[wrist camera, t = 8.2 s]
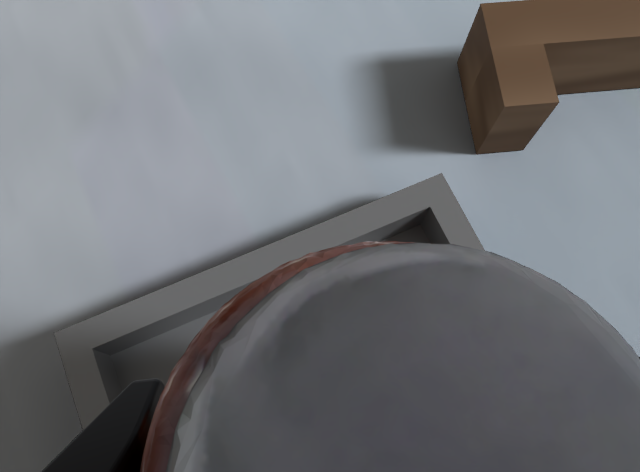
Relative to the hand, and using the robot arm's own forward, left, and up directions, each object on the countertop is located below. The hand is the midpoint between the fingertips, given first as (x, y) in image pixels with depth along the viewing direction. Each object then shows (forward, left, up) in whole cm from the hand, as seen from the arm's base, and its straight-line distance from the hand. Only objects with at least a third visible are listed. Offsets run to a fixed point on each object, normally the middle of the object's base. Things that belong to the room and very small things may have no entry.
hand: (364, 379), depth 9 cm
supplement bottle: (-1, +1, -7) cm, 7 cm away
